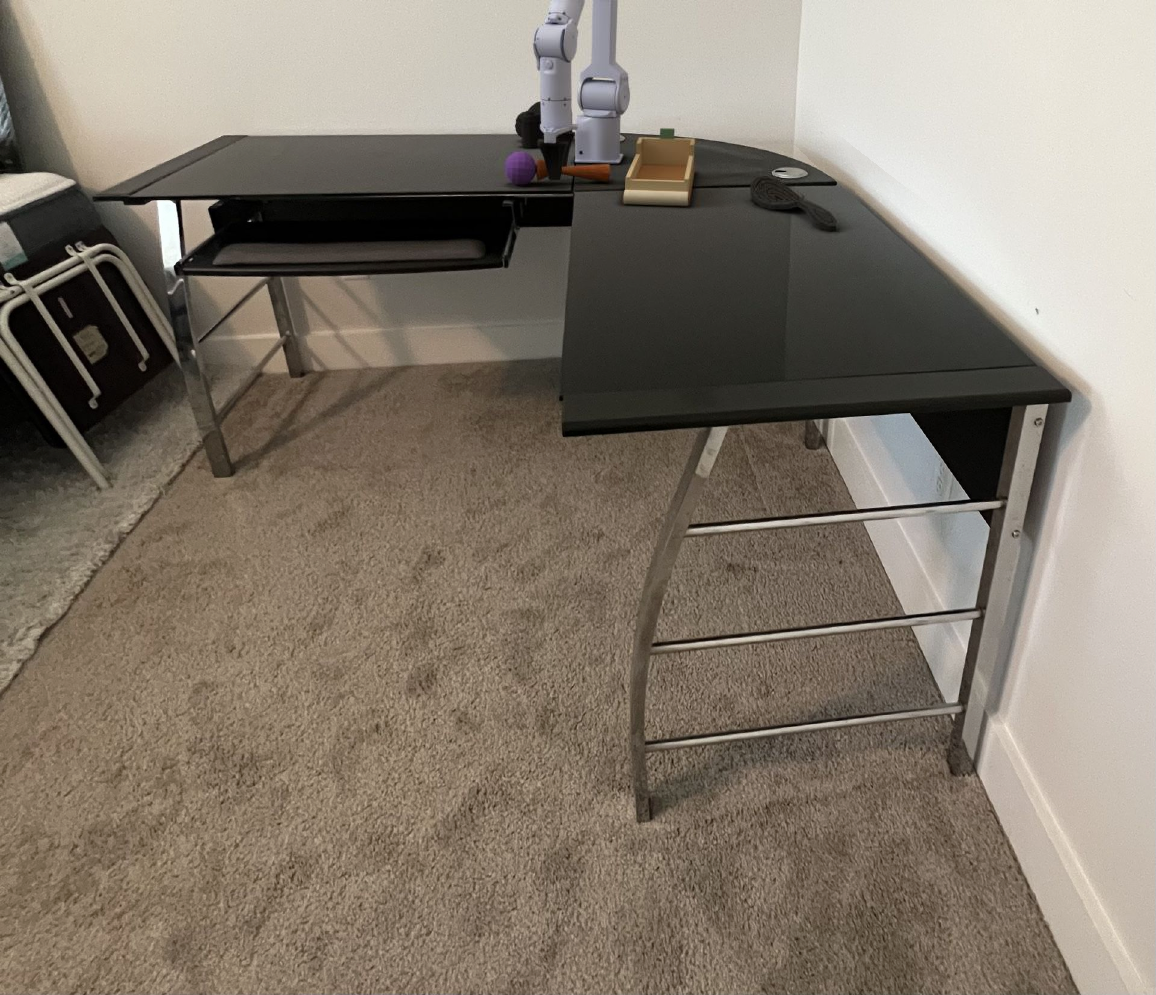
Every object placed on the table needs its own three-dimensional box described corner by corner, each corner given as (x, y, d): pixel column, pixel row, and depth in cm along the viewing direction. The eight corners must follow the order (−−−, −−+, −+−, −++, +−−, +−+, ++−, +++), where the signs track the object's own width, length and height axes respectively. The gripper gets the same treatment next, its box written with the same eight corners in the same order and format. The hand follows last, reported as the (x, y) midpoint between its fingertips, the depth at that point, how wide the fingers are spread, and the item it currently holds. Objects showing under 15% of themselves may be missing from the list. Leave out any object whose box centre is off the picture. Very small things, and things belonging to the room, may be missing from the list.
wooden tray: (688, 207, 148) (692, 157, 143) (621, 205, 149) (623, 156, 145) (694, 172, 170) (697, 128, 165) (636, 170, 171) (637, 127, 167)
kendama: (612, 164, 159) (506, 158, 156) (608, 194, 163) (504, 189, 160) (608, 151, 163) (505, 145, 160) (605, 181, 167) (504, 176, 164)
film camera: (550, 134, 203) (550, 94, 198) (577, 140, 197) (577, 98, 192) (501, 143, 195) (499, 101, 190) (528, 149, 189) (526, 106, 184)
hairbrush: (812, 215, 133) (742, 172, 152) (808, 238, 135) (739, 193, 154) (858, 211, 135) (783, 169, 154) (853, 234, 137) (779, 190, 156)
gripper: (571, 105, 148) (571, 185, 155) (583, 93, 160) (583, 168, 167) (531, 104, 149) (534, 184, 156) (546, 92, 161) (548, 167, 168)
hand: (557, 176), depth 162 cm, fingers closed on kendama, 5 cm apart
